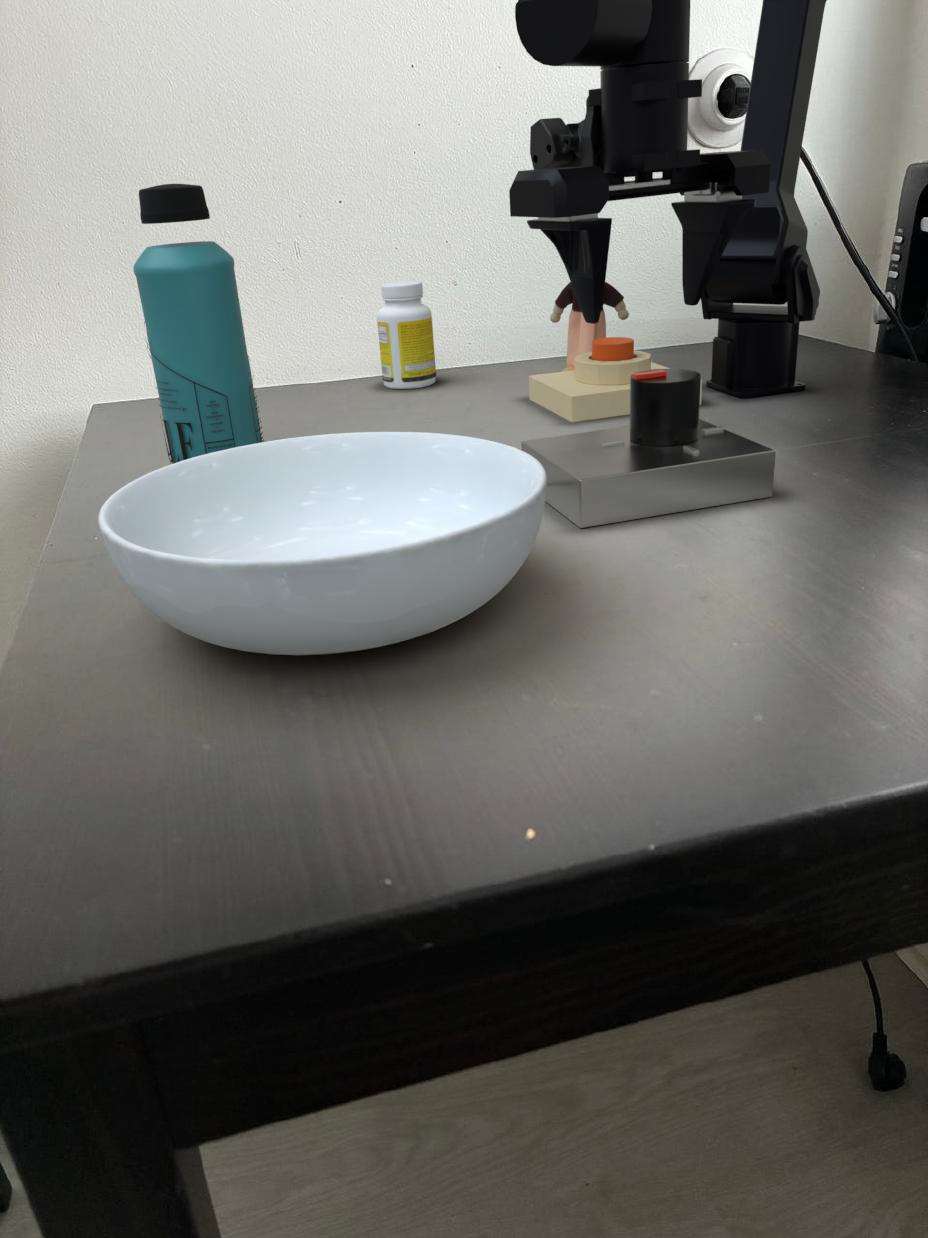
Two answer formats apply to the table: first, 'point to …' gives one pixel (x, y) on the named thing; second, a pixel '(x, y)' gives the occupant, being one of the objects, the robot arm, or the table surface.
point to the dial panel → (649, 473)
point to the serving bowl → (326, 538)
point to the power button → (613, 349)
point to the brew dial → (664, 406)
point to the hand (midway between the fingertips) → (642, 313)
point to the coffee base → (590, 387)
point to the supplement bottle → (406, 337)
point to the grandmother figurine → (578, 327)
